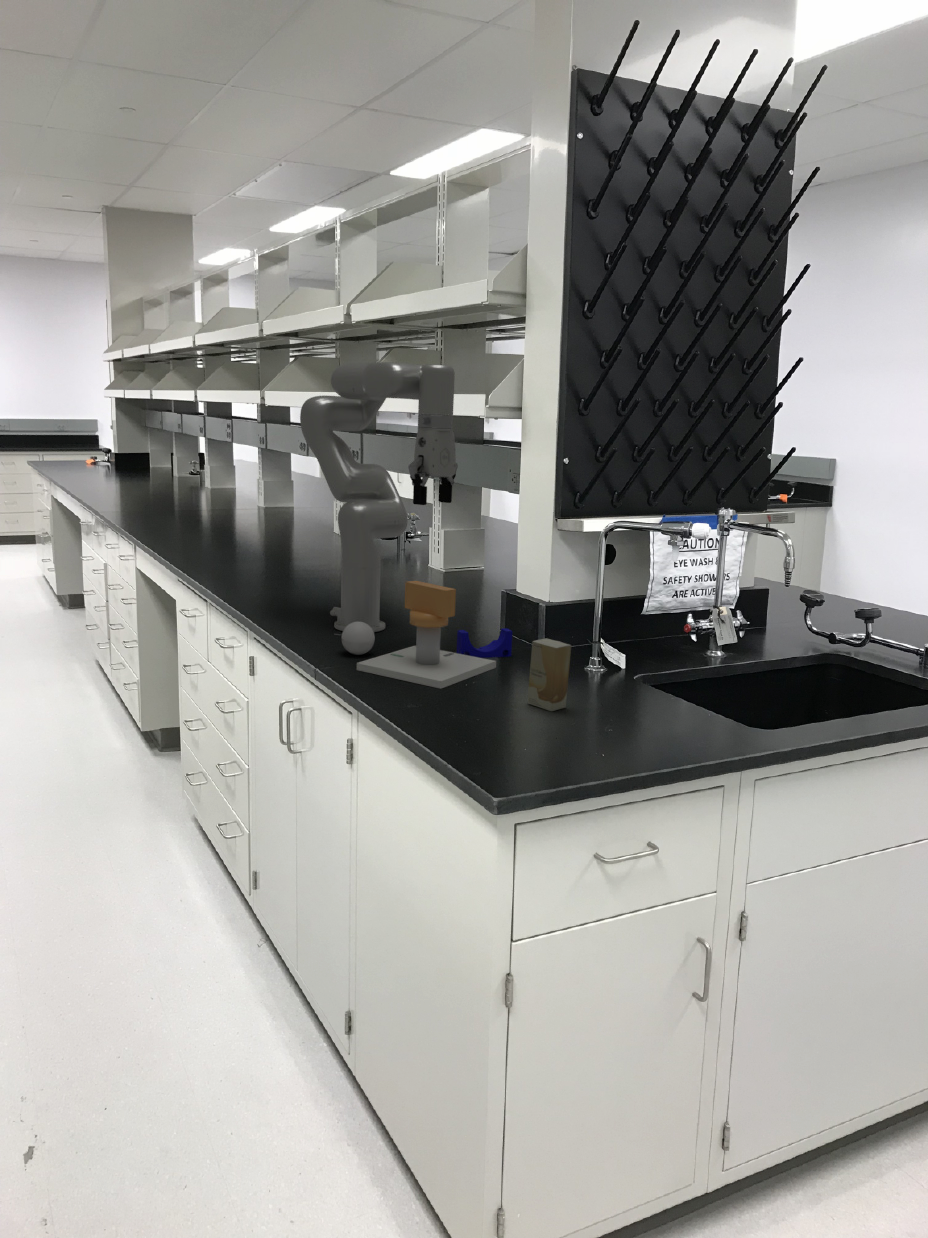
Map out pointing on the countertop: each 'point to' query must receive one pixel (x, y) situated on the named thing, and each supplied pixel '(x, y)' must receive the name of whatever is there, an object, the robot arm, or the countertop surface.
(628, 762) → the countertop surface
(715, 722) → the countertop surface
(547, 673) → the skincare box
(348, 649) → the white ball
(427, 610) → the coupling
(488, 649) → the cable clip
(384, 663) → the coupling base
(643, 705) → the countertop surface
